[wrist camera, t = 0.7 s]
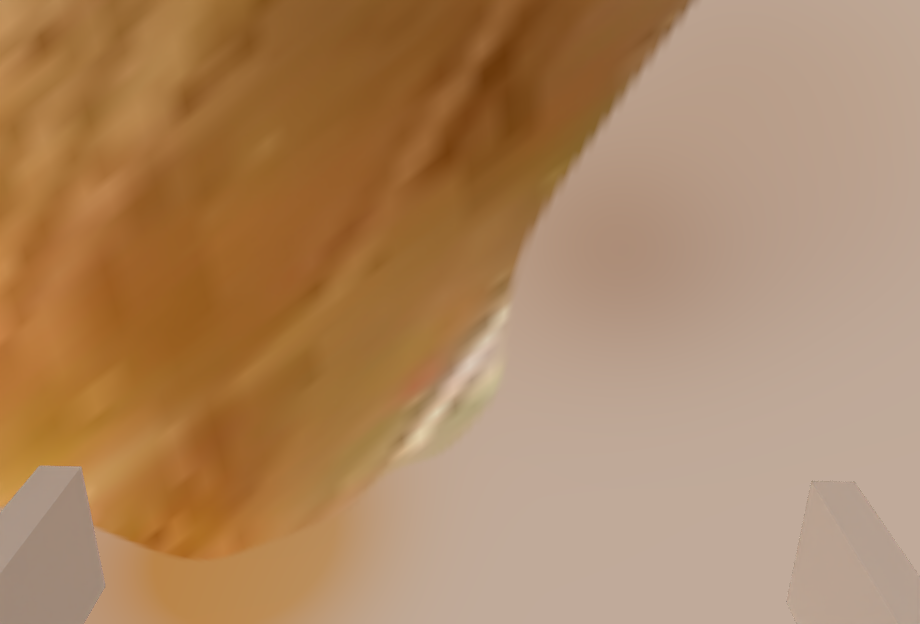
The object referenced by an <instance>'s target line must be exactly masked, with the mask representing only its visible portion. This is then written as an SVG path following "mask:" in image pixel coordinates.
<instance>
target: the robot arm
mask: <svg viewBox="0 0 920 624" xmlns="http://www.w3.org/2000/svg"><path fill="white" fill-rule="evenodd" d="M104 588H105V581H104V576H103V571H102V566H101V561H100V557H99V552H98V547H97V542H96V537H95V532H94V527H93V522H92V517H91V512H90V507H89V502H88V497H87V492H86V487H85V483H84V478H83V473H82V468H81V467H74V466H39V467H38V468H37V469H36V470H35V472H34V473H33V474H32V475H31V476H30V478H29V479H28V480H27V481H26V482H25V483H24V485H23V486H22V487H21V488H20V489H19V491H18V492H17V493H16V494H15V495H14V497H13V498H12V499H11V500H10V501H9V503H8V504H7V505H6V506H5V507H4V509H3V510H2V511H1V512H0V624H84V623H85V621H86V619H87V618H88V616H89V614H90V612H91V611H92V609H93V607H94V605H95V604H96V602H97V600H98V599H99V597H100V595H101V593H102V592H103V590H104ZM786 602H787V604H788V606H789V608H790V610H791V613H792V615H793V617H794V619H795V621H796V624H920V576H919V574H918V573H917V572H916V570H915V569H914V567H913V566H912V564H911V563H910V561H909V560H908V559H907V557H906V556H905V554H904V553H903V551H902V550H901V548H900V547H899V545H898V544H897V543H896V541H895V540H894V538H893V537H892V535H891V534H890V533H889V531H888V530H887V528H886V527H885V525H884V524H883V522H882V521H881V520H880V518H879V517H878V515H877V514H876V512H875V511H874V509H873V508H872V506H871V505H870V504H869V502H868V501H867V499H866V498H865V496H864V495H863V493H862V492H861V490H860V489H859V487H858V486H857V485H856V483H855V482H829V481H812V482H811V486H810V490H809V495H808V500H807V505H806V510H805V514H804V520H803V524H802V529H801V534H800V538H799V543H798V548H797V553H796V558H795V563H794V567H793V572H792V577H791V582H790V586H789V591H788V596H787V601H786Z"/></svg>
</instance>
